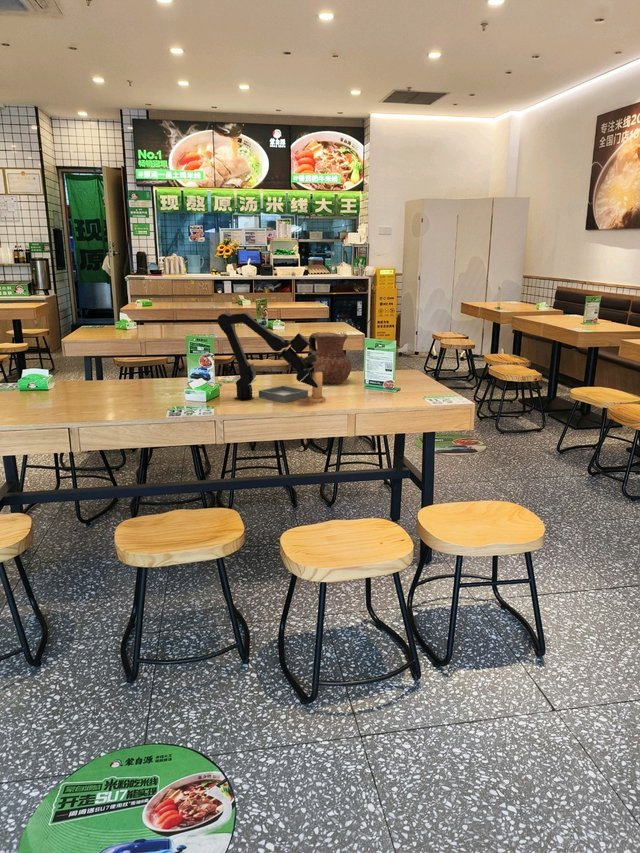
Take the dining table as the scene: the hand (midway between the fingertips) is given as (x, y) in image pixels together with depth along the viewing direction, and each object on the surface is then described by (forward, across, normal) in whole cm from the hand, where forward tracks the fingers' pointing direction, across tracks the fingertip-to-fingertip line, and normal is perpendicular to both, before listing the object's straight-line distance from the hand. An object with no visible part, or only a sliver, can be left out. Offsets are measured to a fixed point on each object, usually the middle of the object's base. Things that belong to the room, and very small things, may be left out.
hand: (318, 385), depth 276 cm
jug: (+6, +43, +5) cm, 43 cm away
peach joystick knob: (+5, 0, +6) cm, 7 cm away
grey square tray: (-7, +6, +17) cm, 19 cm away
